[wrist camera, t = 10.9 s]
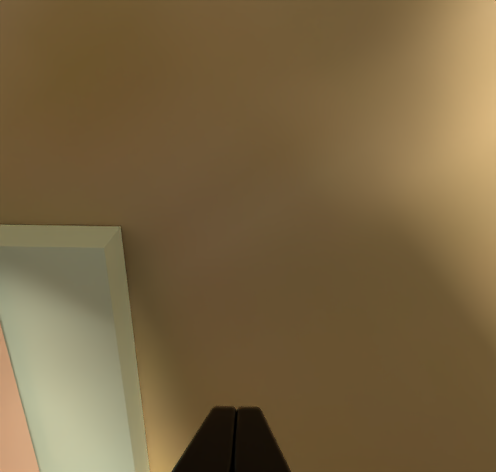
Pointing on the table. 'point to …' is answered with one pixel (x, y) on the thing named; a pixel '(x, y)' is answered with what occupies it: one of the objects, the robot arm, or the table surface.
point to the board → (73, 346)
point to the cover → (13, 422)
